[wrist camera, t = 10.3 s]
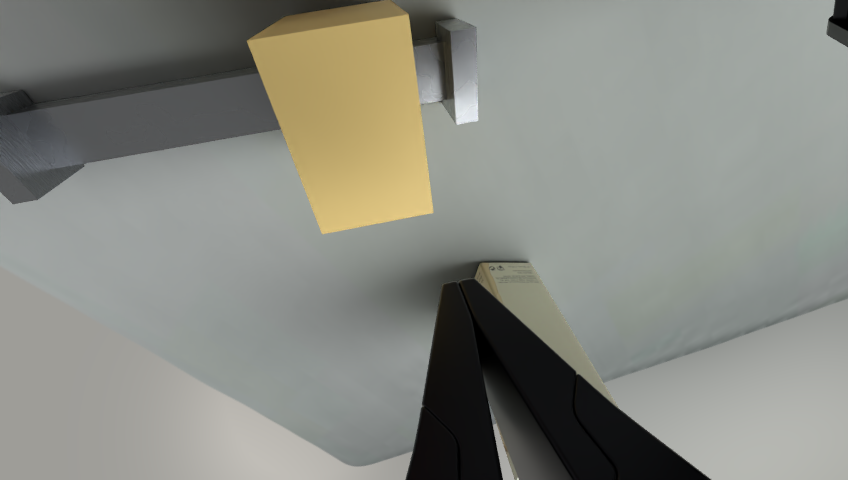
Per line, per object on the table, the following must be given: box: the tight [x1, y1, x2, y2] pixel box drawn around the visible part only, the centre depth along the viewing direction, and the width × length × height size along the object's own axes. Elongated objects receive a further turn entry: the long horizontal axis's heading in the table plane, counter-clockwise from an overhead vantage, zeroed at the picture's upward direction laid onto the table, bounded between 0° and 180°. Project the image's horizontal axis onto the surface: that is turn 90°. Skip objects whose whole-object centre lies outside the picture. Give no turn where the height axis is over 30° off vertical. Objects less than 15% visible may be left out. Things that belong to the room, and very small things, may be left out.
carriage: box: [247, 0, 433, 234], centre depth 13 cm, size 4×6×8 cm, turn 7°
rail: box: [0, 18, 478, 204], centre depth 15 cm, size 20×4×3 cm, turn 97°
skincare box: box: [474, 263, 618, 480], centre depth 23 cm, size 6×4×12 cm
